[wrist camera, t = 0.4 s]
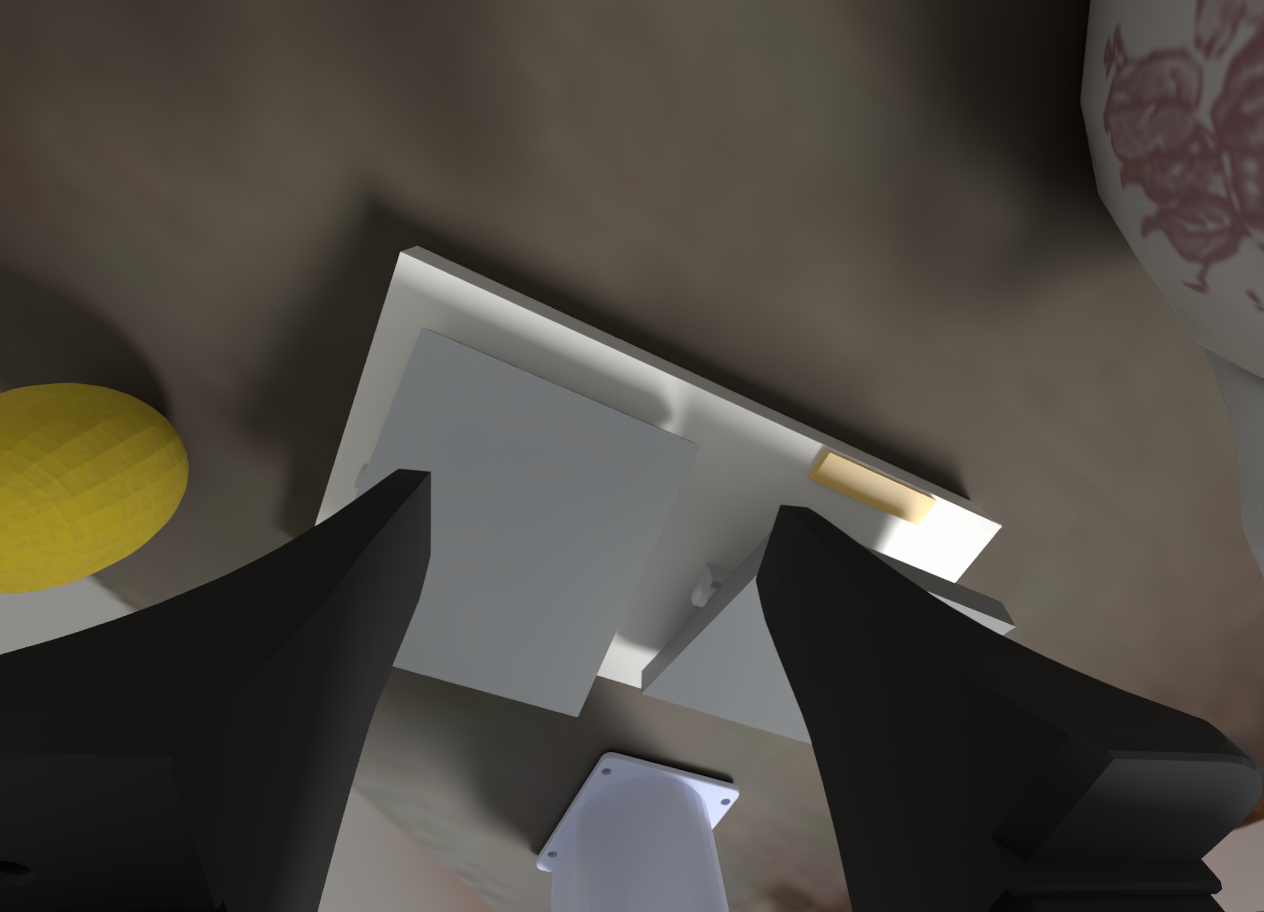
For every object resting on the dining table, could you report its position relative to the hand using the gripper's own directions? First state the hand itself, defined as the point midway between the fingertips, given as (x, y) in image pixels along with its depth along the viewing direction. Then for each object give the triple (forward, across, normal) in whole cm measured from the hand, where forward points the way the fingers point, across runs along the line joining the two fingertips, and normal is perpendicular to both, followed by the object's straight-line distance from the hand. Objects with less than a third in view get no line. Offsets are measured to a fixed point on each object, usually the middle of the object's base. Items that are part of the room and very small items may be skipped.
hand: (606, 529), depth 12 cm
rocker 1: (+6, +2, +5) cm, 8 cm away
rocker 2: (+6, -9, +8) cm, 13 cm away
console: (+10, -3, +6) cm, 12 cm away
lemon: (+10, +15, +4) cm, 19 cm away
